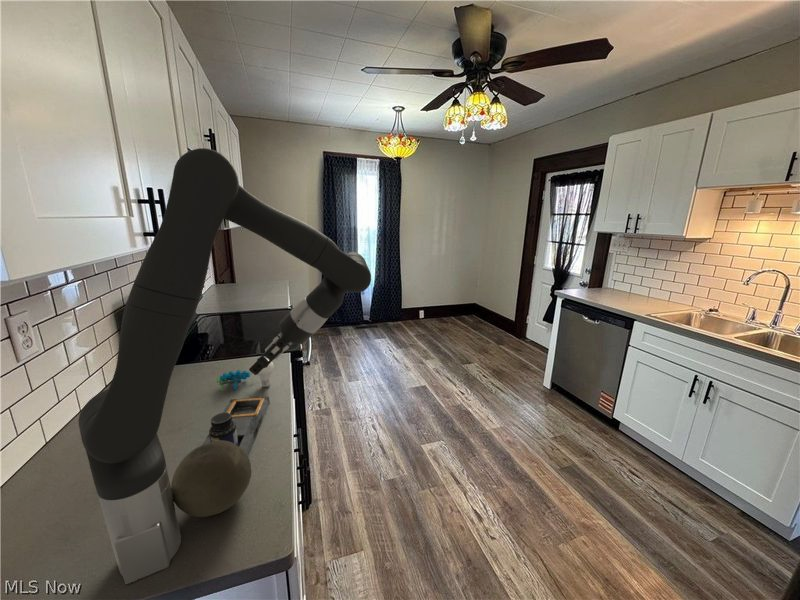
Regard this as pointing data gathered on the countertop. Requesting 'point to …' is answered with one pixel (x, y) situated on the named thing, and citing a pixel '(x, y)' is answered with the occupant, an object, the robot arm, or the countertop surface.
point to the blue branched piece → (232, 378)
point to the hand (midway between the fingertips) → (260, 363)
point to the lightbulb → (266, 374)
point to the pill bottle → (223, 428)
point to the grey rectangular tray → (246, 420)
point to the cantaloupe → (211, 478)
